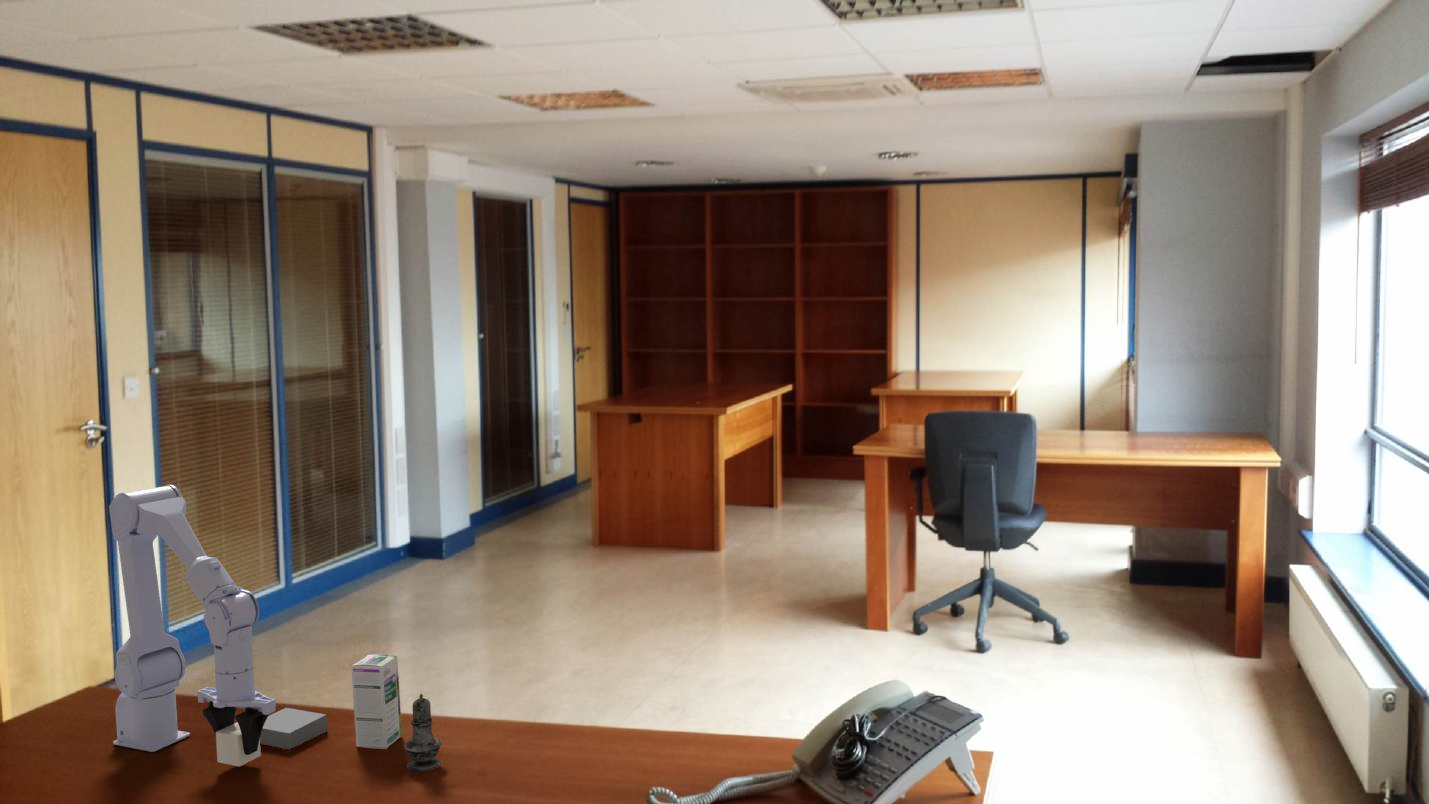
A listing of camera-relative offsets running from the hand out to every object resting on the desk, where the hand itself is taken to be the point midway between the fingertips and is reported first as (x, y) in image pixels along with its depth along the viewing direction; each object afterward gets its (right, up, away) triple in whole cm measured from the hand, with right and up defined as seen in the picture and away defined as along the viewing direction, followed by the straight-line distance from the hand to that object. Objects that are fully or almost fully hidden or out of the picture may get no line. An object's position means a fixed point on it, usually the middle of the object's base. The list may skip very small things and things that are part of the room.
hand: (238, 750), depth 191 cm
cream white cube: (0, -2, 0) cm, 2 cm away
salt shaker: (+30, -3, +1) cm, 30 cm away
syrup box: (+20, -2, +10) cm, 22 cm away
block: (+3, -2, +13) cm, 13 cm away
